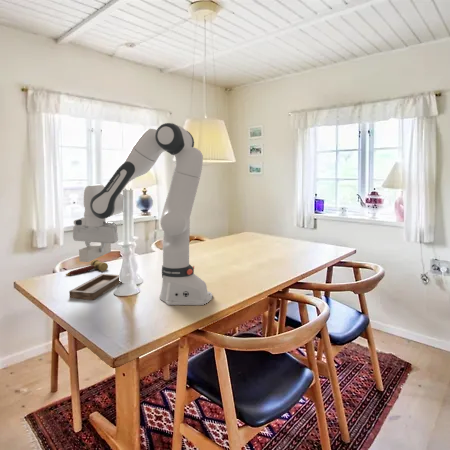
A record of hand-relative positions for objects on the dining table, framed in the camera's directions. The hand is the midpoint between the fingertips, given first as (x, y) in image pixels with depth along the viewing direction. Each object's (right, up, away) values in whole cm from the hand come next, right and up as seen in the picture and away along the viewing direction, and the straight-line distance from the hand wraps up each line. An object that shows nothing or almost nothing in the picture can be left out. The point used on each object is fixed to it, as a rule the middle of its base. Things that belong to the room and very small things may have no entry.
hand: (95, 251), depth 160 cm
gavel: (-16, -14, +29) cm, 36 cm away
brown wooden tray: (0, -17, +3) cm, 17 cm away
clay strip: (0, -2, 0) cm, 2 cm away
